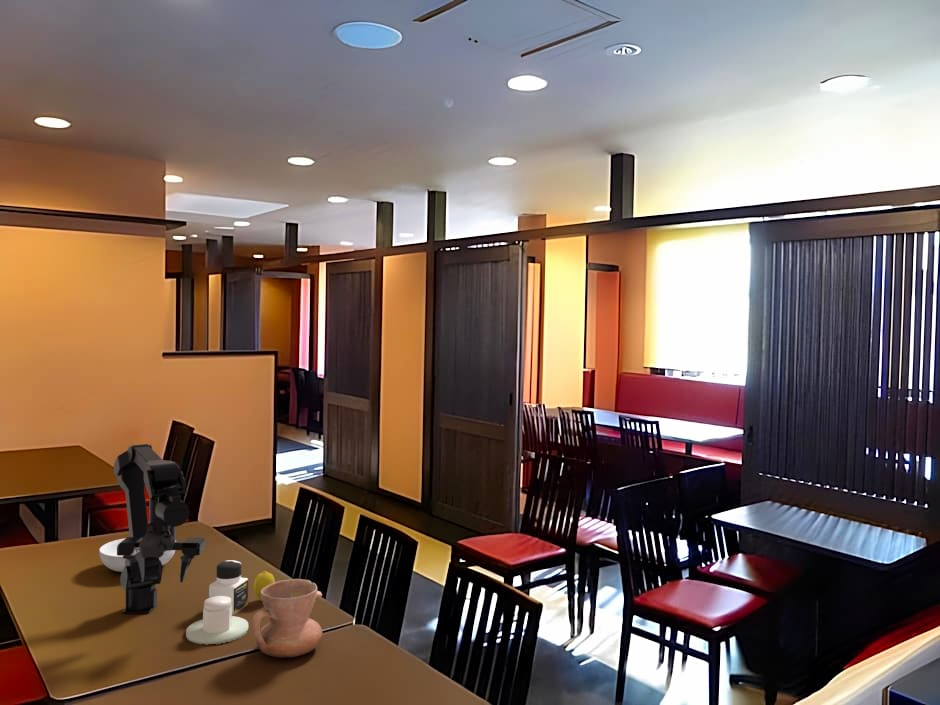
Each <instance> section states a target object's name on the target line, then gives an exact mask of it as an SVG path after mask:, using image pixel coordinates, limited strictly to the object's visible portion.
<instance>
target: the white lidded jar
mask: <svg viewBox="0 0 940 705" xmlns="http://www.w3.org/2000/svg"><path fill="white" fill-rule="evenodd" d="M203 602H204V606H203V609H202V619H203V630H204V631H206V632H207V633H221V632H224V631H227V630H229V629H230V627H231V626H232V616H233V615H232V605H231V598H230V597H227V596H215V597H211V598H209V597H208V598H207V599H205V600H204V601H203Z"/></svg>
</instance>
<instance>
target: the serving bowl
mask: <svg viewBox="0 0 940 705" xmlns="http://www.w3.org/2000/svg"><path fill="white" fill-rule="evenodd" d="M126 538H127V537H126ZM126 538H120V539H115V540H112V541H109V542H107V543H105V544H103V545H102V546H101V547H99V558H100V560H101V562H102V563H103V565H104V566H105V567H107V568H108V569H109V570H112V571H115V572H118V573H119V572H120V573H122V571H123V569H124V567H125V560H126V559H124V558H123V556H118V555H117V546H118V544H119V543H120V542H122V541H123V540H124V539H126ZM175 542H177V540H175ZM175 552H176V550H171V551H164V554H163V556H161V557H159V560H160V561H161V563H162V565H163V566H164V565H165V564H167V563H168V562H169V561H170V560H171V559H172V558H173V557H174V554H175Z"/></svg>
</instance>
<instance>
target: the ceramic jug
mask: <svg viewBox="0 0 940 705" xmlns="http://www.w3.org/2000/svg"><path fill="white" fill-rule="evenodd" d="M292 593H300V594H301V595H299V596H295V597H293V596H292ZM322 596H323V594H322V591H319V590H318V586H317V584H316V583H315V582H312V581H311V580H309V579H302V578H292V579H283V580H279V581H275V583H272V584H270V585H268V586H266V587H264V588H263V589H262V590H261V597H262V599H261V601H262V604H263V607H264V609H262V610H259V611H257V612H256V613H255V614H254V615H253V617H252V623H251V625H252V632H253V635H254V636H255V638H256V639H255V642H256V645H257V648H258V650H260V651H261V652H262V653H263V654H265V655H267V656H271V657H275V658H280V659H281V658H282V659H283V658H284V659H285V658H286V659H287V658H294V657H295V658H296V657H299V656H302V655H305V654H307V653H310V652H311V651H313V650H314V649H315V648H316V647H317V646H318V645H319V644H320V642H321V641H322V638H323V628H322V627H321V625H320V624H319V622H317V621H316V620H314V619H313V618H310V615H311V613H312V610H313V607H314V605H315V602H316V598H321V597H322ZM263 618H268V619H269V620H270V621H269V622H268V623H267V624H265V625H264V626H263V627H261V623H262V619H263Z"/></svg>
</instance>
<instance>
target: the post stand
mask: <svg viewBox="0 0 940 705" xmlns="http://www.w3.org/2000/svg"><path fill="white" fill-rule="evenodd" d="M247 631H249V622H248V620H247V619H245V618H242V617H239V616H235V615H232V626H231V627H230V629H229V630H227V631H224V632H221V633H207V632H206V631H204V630H203V618H202V619H199V620H197V621H194V622H193V623H191V624H189V626H187V628H186V630H185V637H186V639H187V641H189V642H191V643H193V644H197V645H202V644H205V645H207V646H211V645H210V644H216V645H222V644H221V643H223V644H227V643H226V642H228V643H231V642H234V641H237V640H239V639H241V638H243V637H244V636H245V635H246V634H247V633H248V632H247ZM242 636H243V637H242ZM238 638H239V639H238ZM236 639H237V640H236ZM233 640H234V641H233ZM208 644H209V645H208ZM205 645H204V646H205Z"/></svg>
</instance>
